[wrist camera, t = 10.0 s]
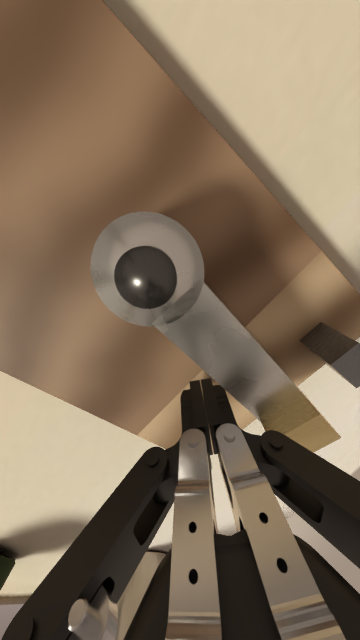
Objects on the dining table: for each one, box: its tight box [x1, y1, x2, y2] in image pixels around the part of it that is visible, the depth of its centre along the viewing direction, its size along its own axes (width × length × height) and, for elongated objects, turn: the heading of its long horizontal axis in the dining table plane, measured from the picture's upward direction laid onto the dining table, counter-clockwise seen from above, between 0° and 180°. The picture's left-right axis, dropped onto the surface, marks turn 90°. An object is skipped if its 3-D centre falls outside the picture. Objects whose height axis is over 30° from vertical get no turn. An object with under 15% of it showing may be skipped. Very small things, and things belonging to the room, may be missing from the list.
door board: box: [0, 0, 360, 453], centre depth 12 cm, size 28×19×1 cm
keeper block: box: [300, 322, 360, 388], centre depth 12 cm, size 3×2×3 cm, turn 51°
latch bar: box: [90, 211, 341, 452], centre depth 10 cm, size 15×4×5 cm, turn 43°
